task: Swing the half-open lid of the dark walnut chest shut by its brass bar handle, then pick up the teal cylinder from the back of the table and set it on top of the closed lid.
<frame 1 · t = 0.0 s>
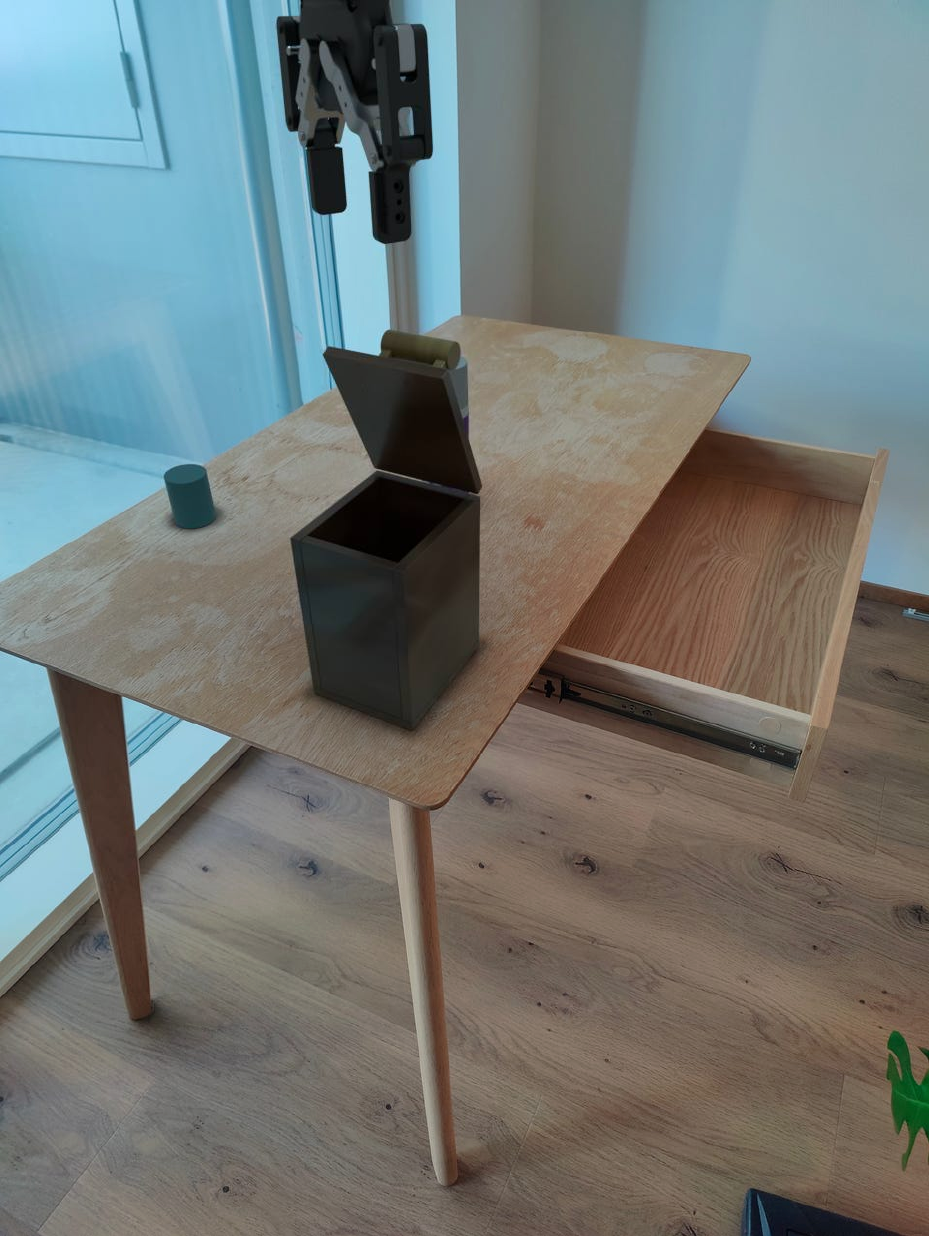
hand: (359, 226, 52), 31 cm above the table, tool pointing down, fingers open, 8 cm apart
lid: (421, 401, 56), point 20 cm above the table, hinge at 65.0°
container: (445, 507, 85), on the table
chest: (399, 669, 65), on the table
teal cylinder: (195, 518, 83), on the table
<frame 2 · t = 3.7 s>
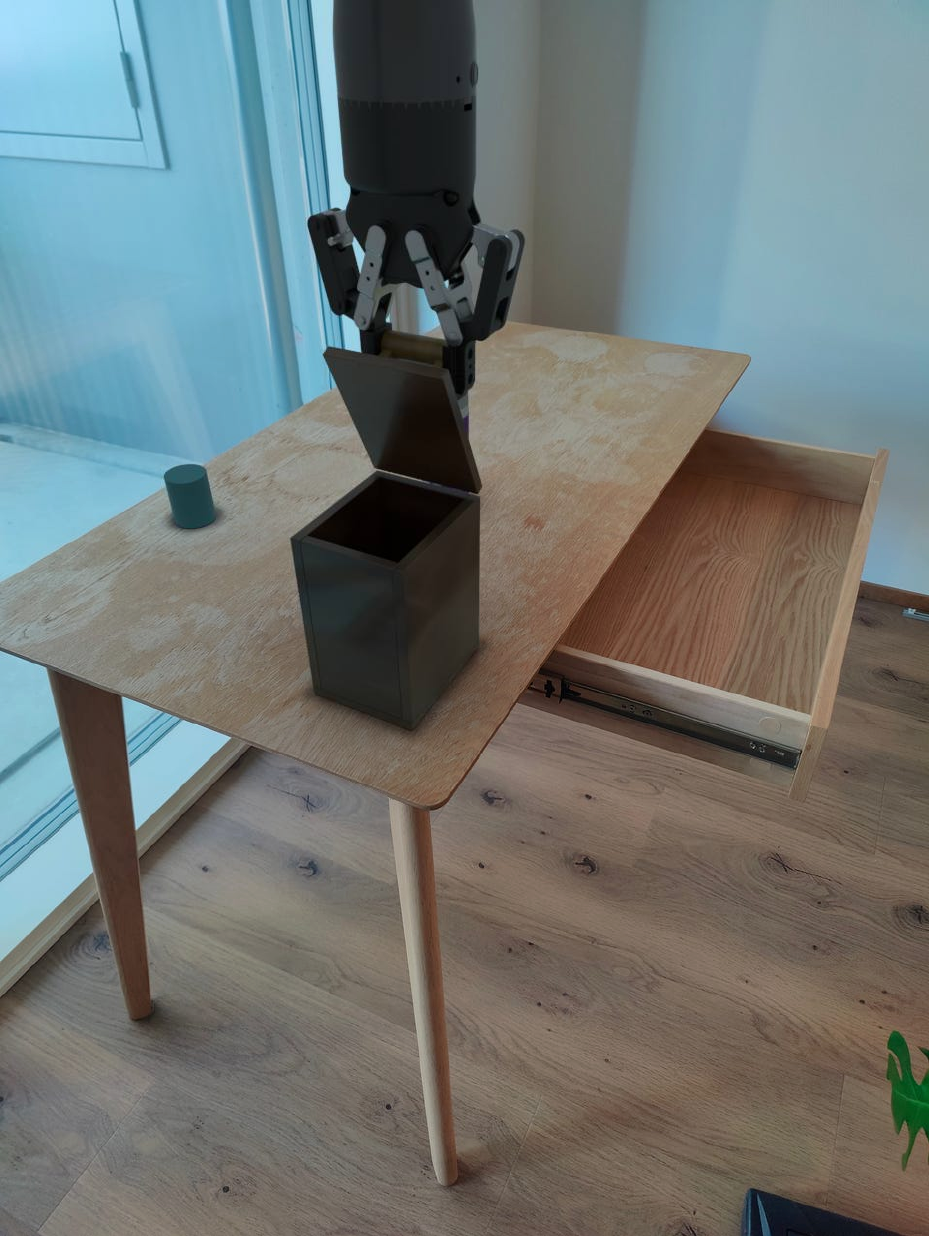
hand: (418, 388, 55), 21 cm above the table, tool pointing down, fingers closed on lid, 5 cm apart
lid: (421, 401, 56), point 20 cm above the table, hinge at 65.0°, touching gripper
everything else where it was.
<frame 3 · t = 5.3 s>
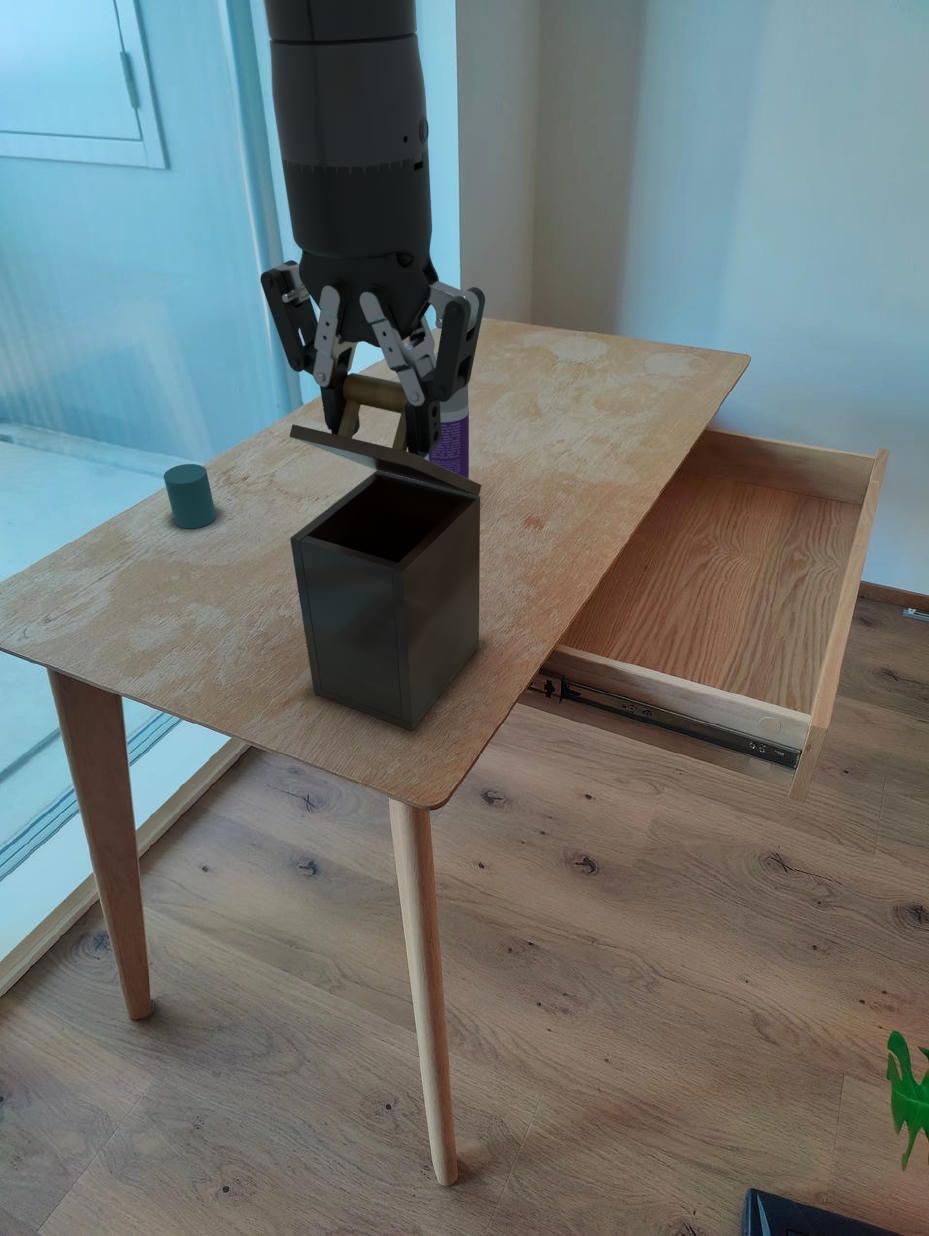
hand: (384, 443, 53), 19 cm above the table, tool pointing down, fingers closed on lid, 5 cm apart
lid: (399, 431, 55), point 19 cm above the table, hinge at 35.5°, touching gripper
everything else where it was.
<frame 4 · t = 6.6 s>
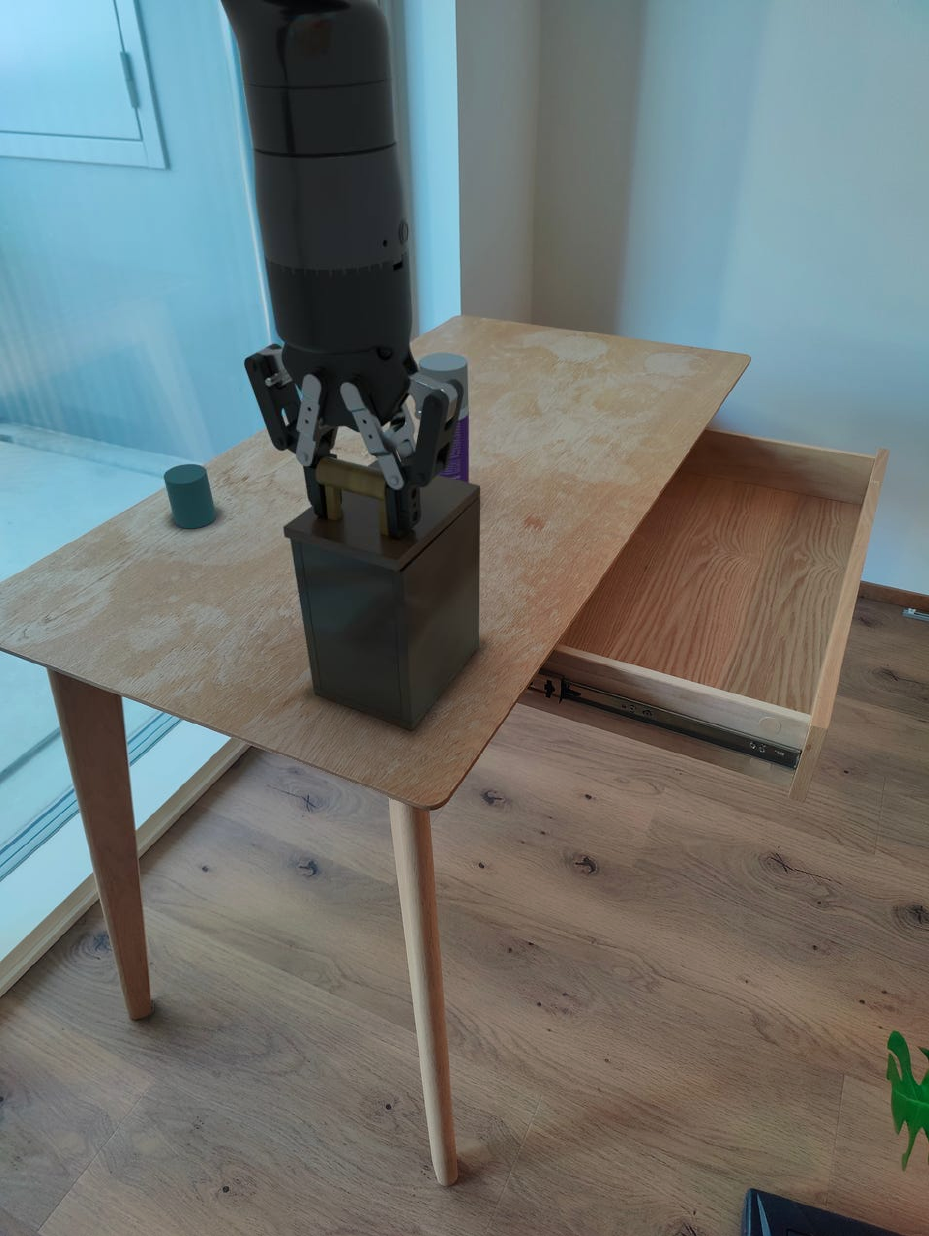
hand: (365, 520, 54), 15 cm above the table, tool pointing down, fingers closed on lid, 5 cm apart
lid: (384, 482, 55), point 16 cm above the table, hinge at 1.5°, touching gripper
everything else where it was.
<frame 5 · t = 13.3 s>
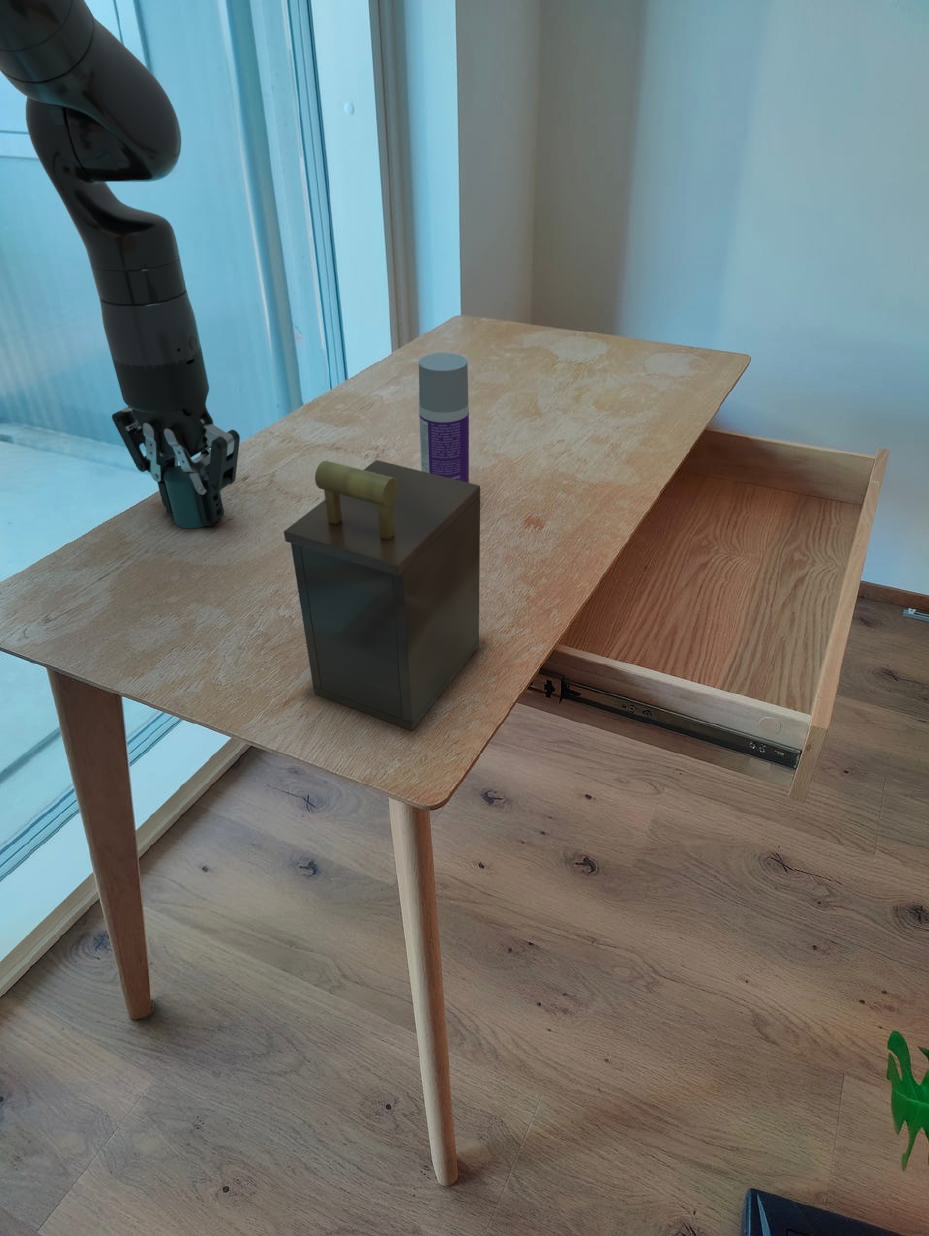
hand: (195, 516, 83), 0 cm above the table, tool pointing down, fingers closed on teal cylinder, 4 cm apart
lid: (384, 484, 55), point 16 cm above the table, hinge at -0.3°, touching chest
teal cylinder: (195, 518, 83), on the table, touching gripper
everything else where it was.
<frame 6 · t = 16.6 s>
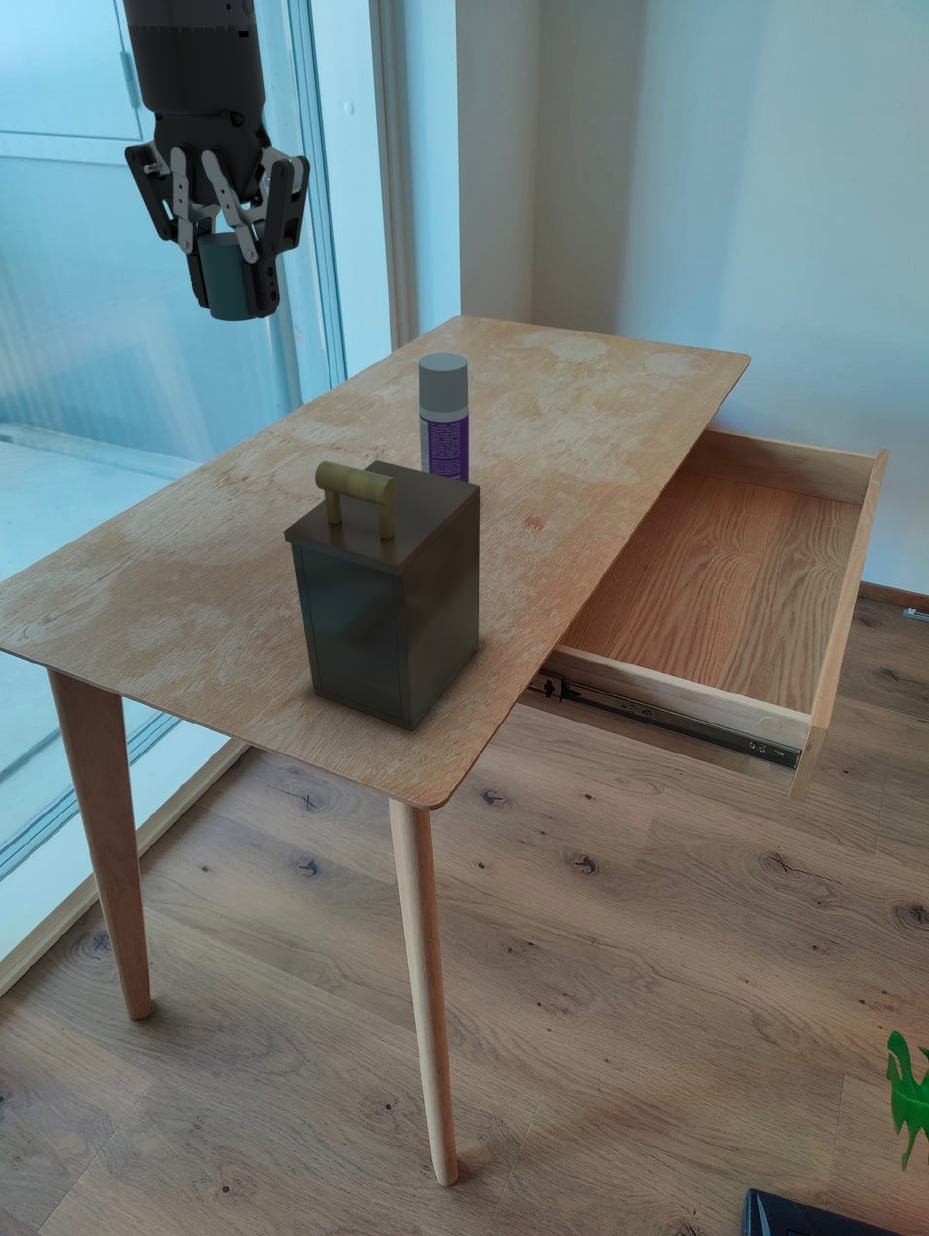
hand: (238, 309, 60), 24 cm above the table, tool pointing down, fingers closed on teal cylinder, 4 cm apart
teal cylinder: (239, 312, 60), point 24 cm above the table, touching gripper
everything else where it was.
when the fingers open (15 cm above the table, at t = 20.4 s): teal cylinder stays where it is, resting on lid.
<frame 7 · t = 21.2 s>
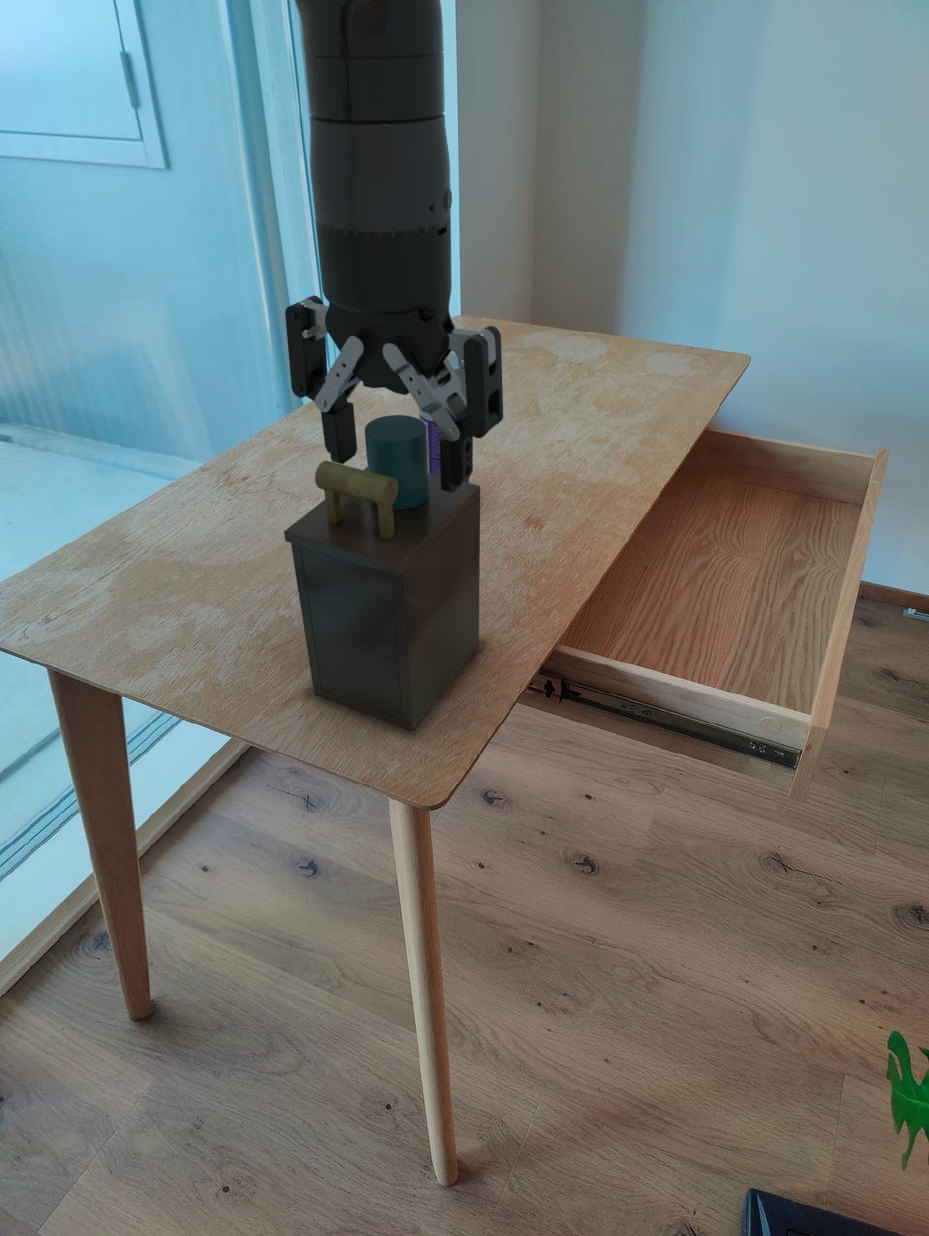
hand: (397, 472, 56), 16 cm above the table, tool pointing down, fingers open, 8 cm apart
lid: (384, 484, 55), point 16 cm above the table, hinge at -0.3°, touching chest, teal cylinder
teal cylinder: (399, 495, 57), point 15 cm above the table, touching lid
everything else where it was.
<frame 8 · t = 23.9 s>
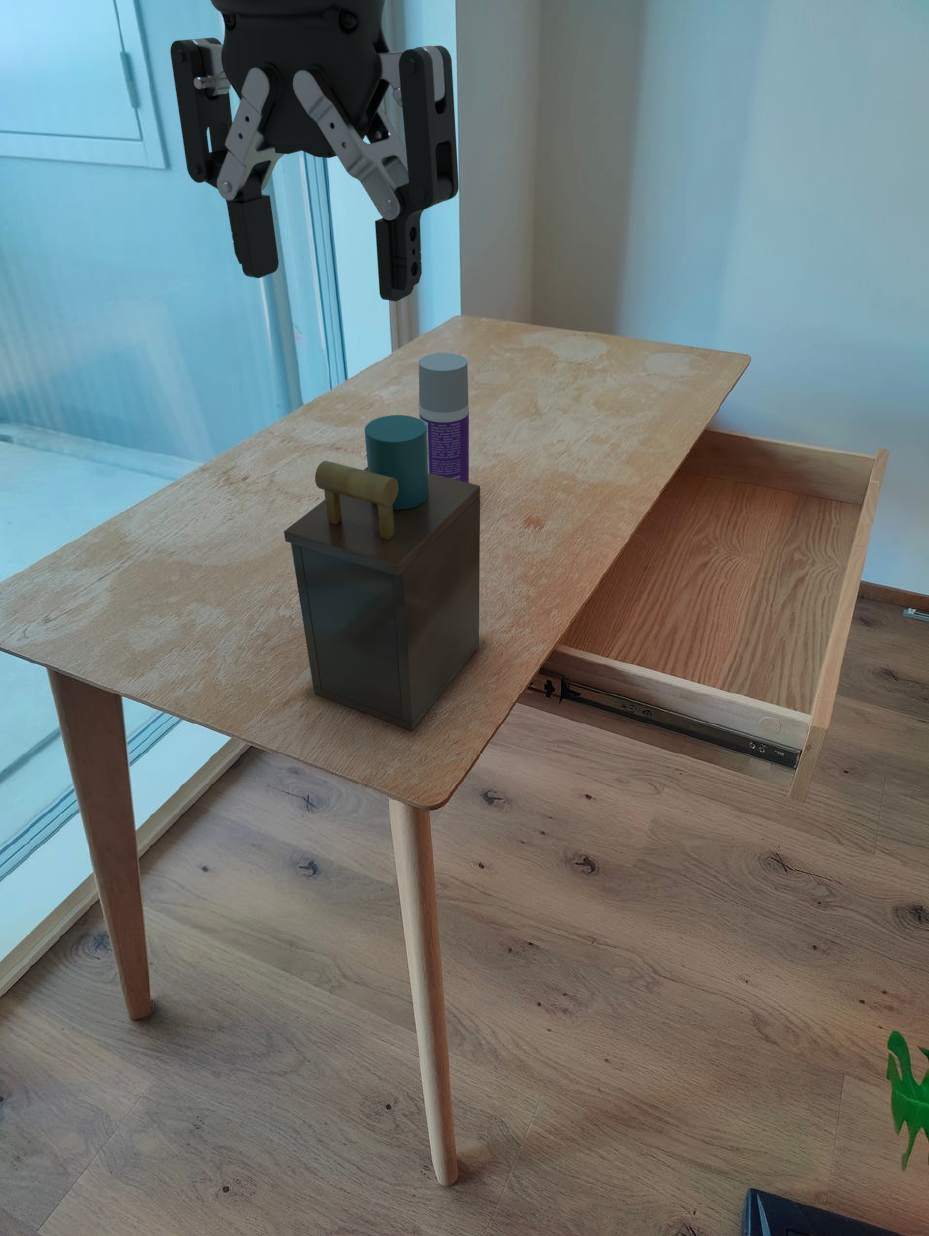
hand: (327, 285, 43), 30 cm above the table, tool pointing down, fingers open, 8 cm apart
nothing on the table moved.
at the end: lid at +0° (first picture: +65°); teal cylinder inside the target area on the chest (1.5 cm from its centre), point 14.6 cm above the chest's base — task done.
